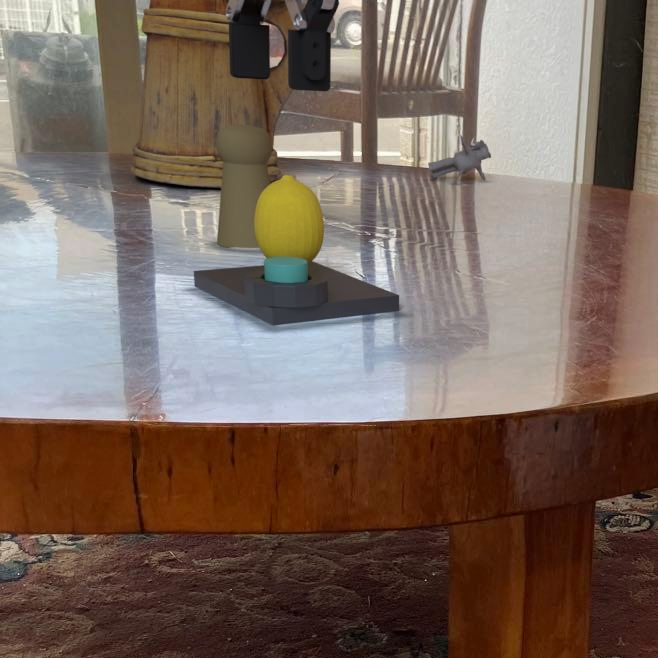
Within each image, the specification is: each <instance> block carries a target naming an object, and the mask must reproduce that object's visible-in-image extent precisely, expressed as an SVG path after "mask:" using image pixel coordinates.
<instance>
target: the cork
mask: <svg viewBox="0 0 658 658" xmlns="http://www.w3.org/2000/svg"><path fill="white" fill-rule="evenodd" d="M216 148H217V151H218V154H219V156H220V157H221V159H222V160H223V171H222V184H221V188H220V199H219V210H218V211H219V212H218V226H217V236H216V237H217V239H216V244H217V245H218V246H221V247H223V248H224V247H225V248H239V249H240V248H241V249H242V248H243V249H260V248H259V245H258V243H257V240H256V235H255V228H254V217H255V210H256V205H257V201H258V199H259V196H260V195H261V193H262V192H263V190H264V189H265V188H266V187H267V186H268V185H270V180H269V174H268V167H267V161H268V160H269V158H270V157H271V153H272V141H271V137H270V135H269V134H268V132H267V131H266V130H264V129H262V128H259V127H256V126H251V125H230V126H226V127H223V128H222V129H220V130H219V132H218V134H217V138H216Z"/></svg>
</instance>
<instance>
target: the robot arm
mask: <svg viewBox="0 0 658 658" xmlns="http://www.w3.org/2000/svg"><path fill="white" fill-rule="evenodd" d="M226 2H227V4H228V5H227V8H226V17H227V20H228V21H229V54H230V74H231V76H232V77H235V78H247V79H268V78H269V77H270V68H271V49H270V48H271V46H270V45H271V44H270V43H271V41H270V39H271V38H270V35H271V33H270V24H264V23H265V22H264V20H265V17H266V15H267V12H268V9H269V6H270V3H271V0H256V2H255V4H254V1H253V0H226ZM285 3H286V5H287V8H288V11H289V14H290V17H291V20H292V22H293V25H294V28H295V29H296V30H290V29H288V85H289V87H290V88H291V89H294V91H307V92H308V91H309V92H310V91H311V92H329V91H330V89H331V75H332V74H331V72H332V71H331V70H332V69H331V68H332V67H331V66H332V63H331V62H332V60H331V59H332V56H331V55H332V33H334V30H335V27H336V23H335V18H334V16H335V15H336V12H337V10H338V9H339V6H340V0H285ZM302 3H303V4H306V5H305V8H303V5H302Z"/></svg>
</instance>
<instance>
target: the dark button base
mask: <svg viewBox="0 0 658 658" xmlns="http://www.w3.org/2000/svg"><path fill="white" fill-rule="evenodd" d="M193 280H194V281H193V282H194V287H195V288H197V289H198V290H201V291H202V292H205V293H207V294H208V295H210V296H213V297H215V298H217V299H218V300H220V301H222V302H225V303H227V304H229V305H231V306H233V307H235V308H237V309H238V310H241V311H243V312H245V313H246V314H249V315H251V316H252V317H254V318H257V319H259V320H260V321H263V322H265V323H267V324H269V325H270V326H273V327H274V326H282V325H291V324H298V323H300V324H301V323H307V322H308V323H309V322H317V321H324V320H333V319H342V318H343V319H344V318H351V317H352V318H353V317H361V316H367V315H377V314H387V313H395V312H400V295H399V294H397V293H395V292H392V291H389V290H388V289H384V288H382V287H379V286H377V285H375V284H371V283H369V282H366V281H364V280H362V279H359V278H356V277H354V276H352V275H349V274H346V273H344V272H341V271H339V270H336V269H334V268H332V267H329V266H326V265H323V264H321V263H319V262H316V261H314V260H313V261H312V262H310V263H309V264H308V281H305V282H295V283H284V282H273V281H267V280H265V271H264V264H263V265H250V266H237V267H225V268H214V269H213V268H212V269H202V270H201V269H200V270H194V271H193Z"/></svg>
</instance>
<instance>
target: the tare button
mask: <svg viewBox="0 0 658 658" xmlns="http://www.w3.org/2000/svg"><path fill="white" fill-rule="evenodd" d="M263 262H264V263H263V265H264V271H265V280H267V281H273V282H284V283H295V282H305V281H308V262H307V260H305V259H302V258H296V257H272V258H265V259H264V260H263Z"/></svg>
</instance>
